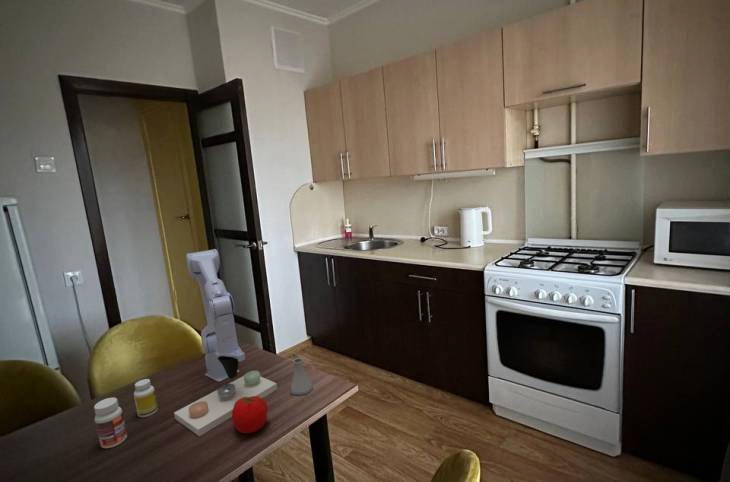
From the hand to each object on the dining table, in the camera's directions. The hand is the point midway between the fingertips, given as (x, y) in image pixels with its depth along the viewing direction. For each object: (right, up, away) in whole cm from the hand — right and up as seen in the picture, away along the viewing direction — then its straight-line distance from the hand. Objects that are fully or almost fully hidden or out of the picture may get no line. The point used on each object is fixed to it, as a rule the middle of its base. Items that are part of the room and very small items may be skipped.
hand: (232, 376), depth 116 cm
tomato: (+10, -9, -13) cm, 19 cm away
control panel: (-1, -8, -1) cm, 8 cm away
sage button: (+4, -3, +5) cm, 8 cm away
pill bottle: (-27, -13, -14) cm, 33 cm away
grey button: (-1, -4, -1) cm, 5 cm away
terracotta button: (-7, -7, -8) cm, 13 cm away
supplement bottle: (-25, -10, -2) cm, 27 cm away
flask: (+21, -5, +3) cm, 21 cm away
